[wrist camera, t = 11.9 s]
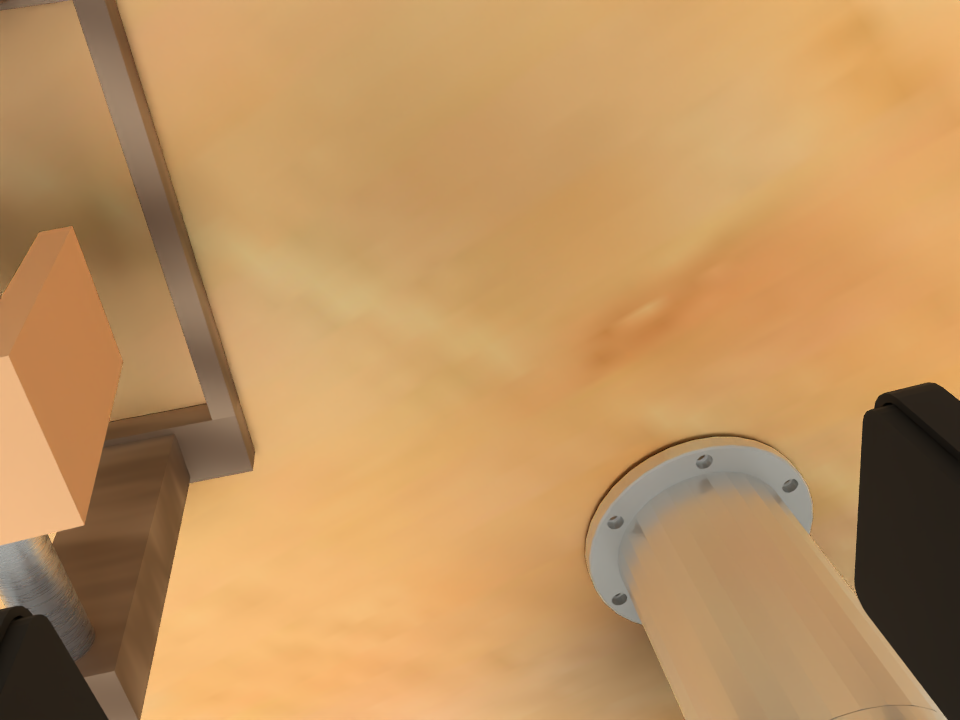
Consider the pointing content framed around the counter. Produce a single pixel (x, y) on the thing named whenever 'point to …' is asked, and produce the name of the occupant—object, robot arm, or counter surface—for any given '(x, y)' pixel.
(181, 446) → the stand
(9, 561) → the rail
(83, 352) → the u-slot holder
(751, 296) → the counter surface
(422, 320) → the counter surface
